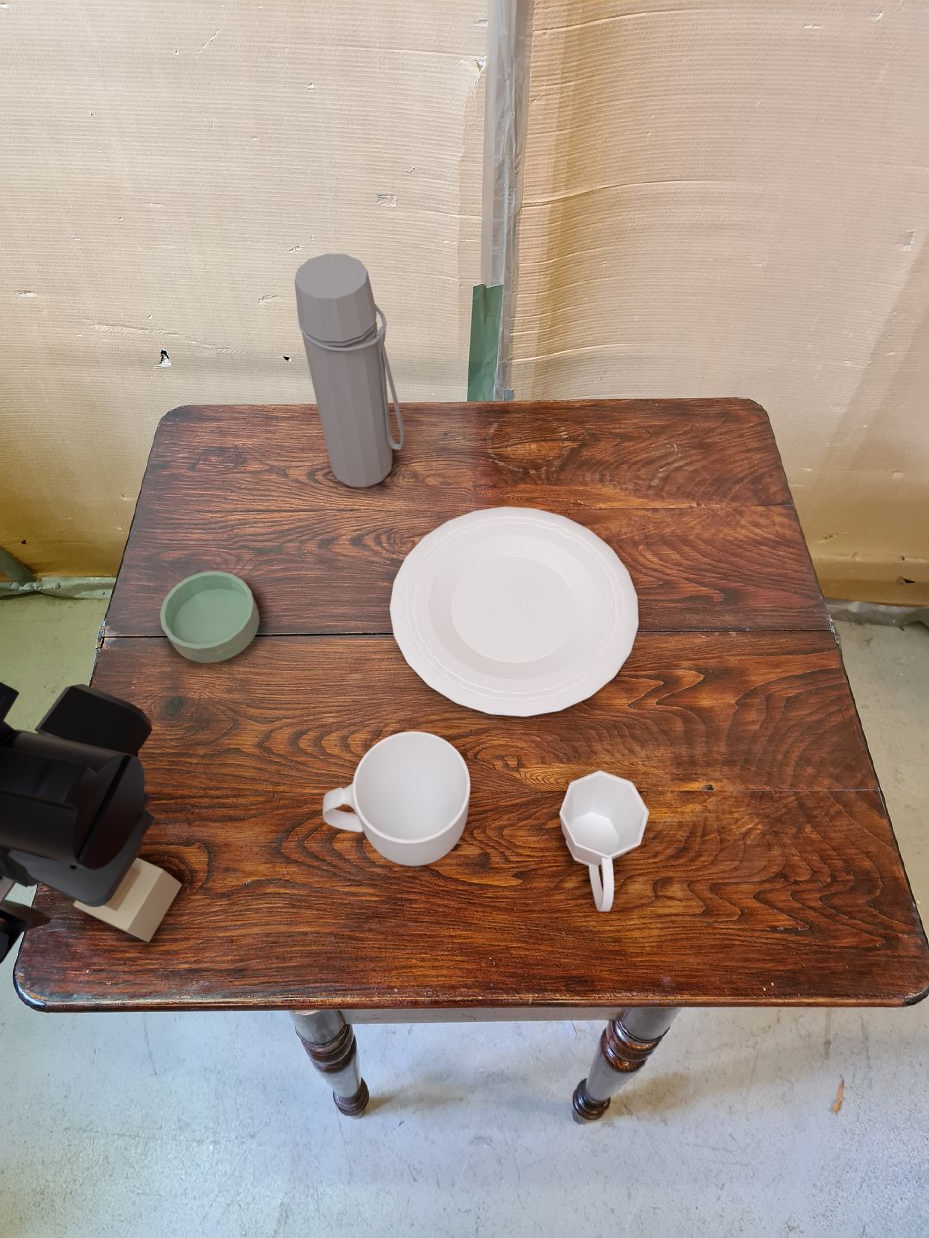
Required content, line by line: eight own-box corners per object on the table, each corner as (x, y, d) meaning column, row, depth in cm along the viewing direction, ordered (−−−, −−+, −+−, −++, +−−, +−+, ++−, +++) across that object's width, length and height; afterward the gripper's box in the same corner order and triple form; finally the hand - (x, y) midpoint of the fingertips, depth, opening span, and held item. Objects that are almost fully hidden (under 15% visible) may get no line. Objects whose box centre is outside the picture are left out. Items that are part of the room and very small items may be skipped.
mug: (467, 780, 72) (466, 726, 62) (473, 880, 67) (474, 839, 57) (337, 788, 72) (315, 735, 61) (335, 889, 67) (310, 849, 57)
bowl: (152, 646, 79) (141, 630, 77) (201, 576, 84) (192, 559, 81) (230, 675, 78) (222, 661, 75) (275, 603, 82) (269, 586, 79)
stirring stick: (95, 901, 62) (39, 870, 54) (119, 862, 63) (68, 826, 55) (117, 911, 61) (63, 881, 53) (140, 872, 63) (92, 837, 55)
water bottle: (319, 485, 90) (274, 293, 69) (346, 437, 94) (310, 242, 73) (395, 504, 89) (372, 314, 68) (419, 454, 93) (404, 260, 71)
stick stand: (97, 918, 66) (72, 905, 61) (133, 861, 68) (110, 845, 64) (149, 942, 65) (126, 930, 60) (182, 884, 67) (163, 869, 63)
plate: (578, 767, 72) (581, 759, 71) (344, 658, 78) (342, 649, 77) (670, 568, 84) (674, 557, 82) (460, 486, 90) (460, 475, 89)
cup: (626, 802, 71) (643, 769, 64) (640, 920, 65) (660, 898, 59) (547, 802, 71) (556, 770, 64) (555, 920, 65) (565, 899, 59)
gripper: (-39, 1029, 37) (96, 1050, 50) (182, 693, 46) (247, 786, 59) (-220, 933, 39) (-45, 978, 52) (25, 631, 48) (121, 734, 61)
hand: (80, 863), depth 56 cm, fingers open, 8 cm apart
